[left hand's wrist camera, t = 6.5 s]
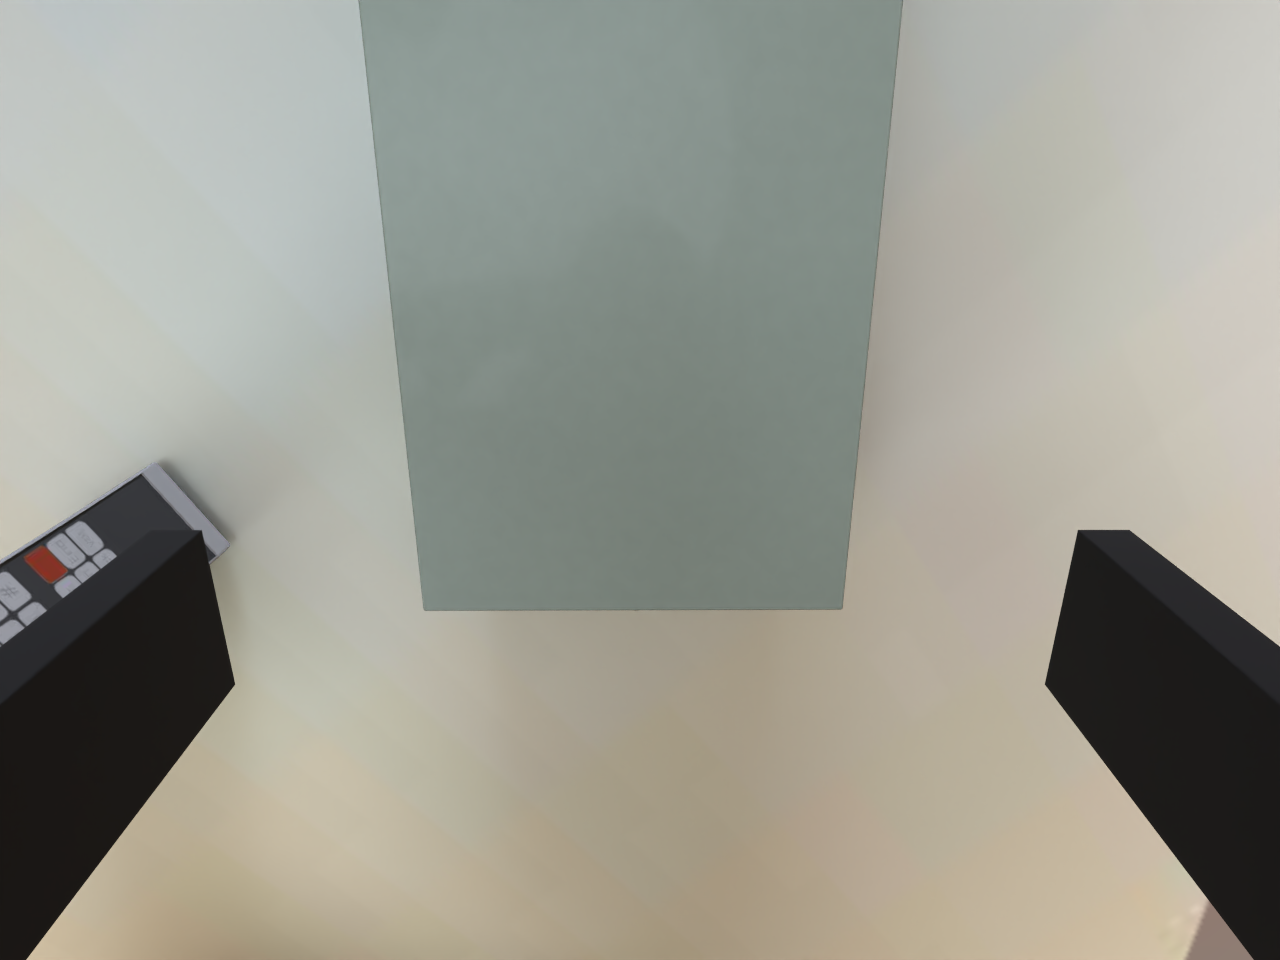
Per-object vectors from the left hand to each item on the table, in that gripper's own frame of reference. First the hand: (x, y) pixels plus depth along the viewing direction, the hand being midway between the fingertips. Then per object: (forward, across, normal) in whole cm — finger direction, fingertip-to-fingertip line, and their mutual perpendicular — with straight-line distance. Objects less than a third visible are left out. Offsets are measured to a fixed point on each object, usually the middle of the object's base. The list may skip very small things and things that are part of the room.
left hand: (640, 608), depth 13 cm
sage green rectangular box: (+16, 0, -5) cm, 17 cm away
